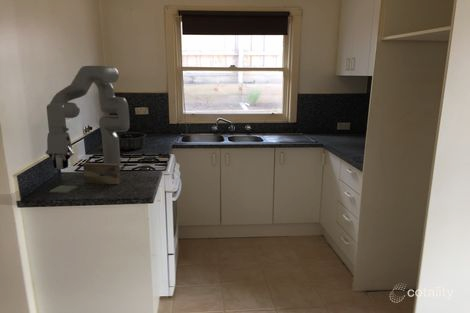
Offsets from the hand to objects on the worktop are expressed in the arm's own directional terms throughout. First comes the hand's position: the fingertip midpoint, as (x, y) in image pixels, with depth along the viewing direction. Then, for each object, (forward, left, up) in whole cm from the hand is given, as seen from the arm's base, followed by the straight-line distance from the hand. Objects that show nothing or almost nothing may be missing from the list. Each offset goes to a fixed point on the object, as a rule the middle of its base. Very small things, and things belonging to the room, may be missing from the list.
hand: (61, 167), depth 175 cm
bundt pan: (-104, -10, -12) cm, 105 cm away
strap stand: (-14, +13, -11) cm, 22 cm away
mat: (0, 0, -11) cm, 11 cm away
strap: (-7, +20, -4) cm, 21 cm away
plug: (0, 0, 0) cm, 0 cm away
